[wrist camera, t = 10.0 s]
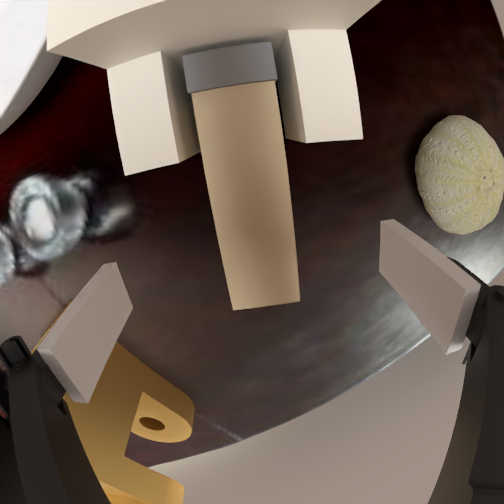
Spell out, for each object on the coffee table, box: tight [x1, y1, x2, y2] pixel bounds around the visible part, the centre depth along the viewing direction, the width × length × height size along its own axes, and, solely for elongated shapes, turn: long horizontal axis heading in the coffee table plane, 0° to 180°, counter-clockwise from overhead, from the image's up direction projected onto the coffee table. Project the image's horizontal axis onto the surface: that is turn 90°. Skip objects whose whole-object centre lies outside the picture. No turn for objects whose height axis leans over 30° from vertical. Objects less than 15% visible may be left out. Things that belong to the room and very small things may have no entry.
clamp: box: [31, 300, 195, 504], centre depth 21 cm, size 20×9×16 cm, turn 39°
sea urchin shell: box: [415, 115, 504, 235], centre depth 17 cm, size 9×8×8 cm
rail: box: [182, 42, 300, 310], centre depth 17 cm, size 4×14×6 cm, turn 8°
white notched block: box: [47, 0, 381, 176], centre depth 11 cm, size 11×8×14 cm
